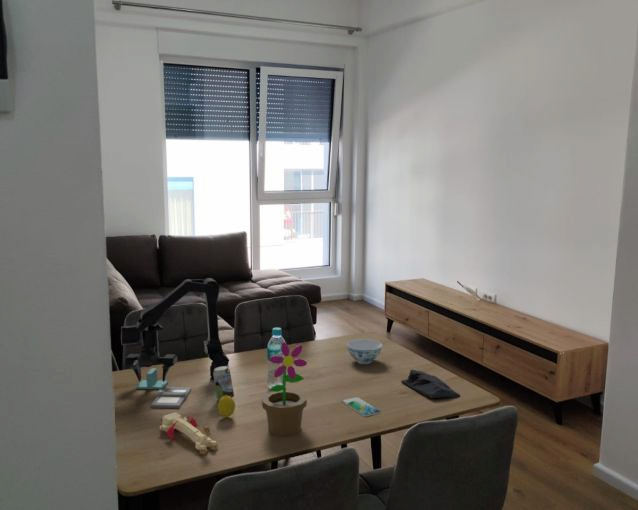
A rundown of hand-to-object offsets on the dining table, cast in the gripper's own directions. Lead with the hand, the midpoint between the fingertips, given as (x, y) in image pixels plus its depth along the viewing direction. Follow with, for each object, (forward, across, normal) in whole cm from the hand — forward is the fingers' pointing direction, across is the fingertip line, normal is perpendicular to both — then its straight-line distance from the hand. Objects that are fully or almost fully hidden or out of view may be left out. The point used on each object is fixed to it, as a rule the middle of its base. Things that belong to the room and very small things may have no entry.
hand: (151, 381), depth 219 cm
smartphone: (+2, +79, -16) cm, 81 cm away
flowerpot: (+2, +54, -34) cm, 64 cm away
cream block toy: (+2, +24, -41) cm, 48 cm away
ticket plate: (+2, +11, -12) cm, 16 cm away
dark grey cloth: (+2, +106, +2) cm, 106 cm away
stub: (+2, 0, 0) cm, 2 cm away
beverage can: (+2, +30, -12) cm, 32 cm away
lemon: (+2, +34, -27) cm, 43 cm away
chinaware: (+2, +82, +31) cm, 88 cm away
